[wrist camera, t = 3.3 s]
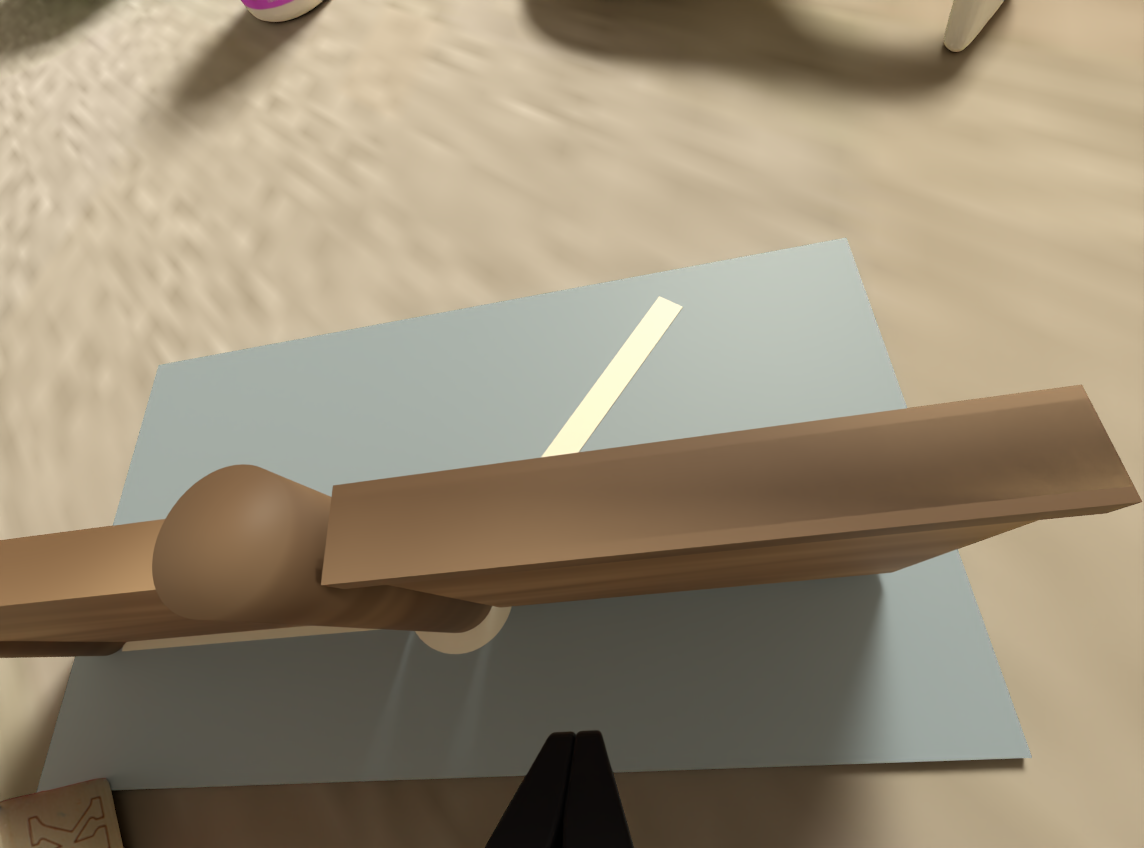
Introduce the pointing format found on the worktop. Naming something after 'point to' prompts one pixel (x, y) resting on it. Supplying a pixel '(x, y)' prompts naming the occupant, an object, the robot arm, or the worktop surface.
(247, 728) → the card
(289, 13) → the supplement bottle
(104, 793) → the stack of blocks
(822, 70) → the worktop surface
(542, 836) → the robot arm
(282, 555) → the fence post and fixed panel
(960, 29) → the spoon rest
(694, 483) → the wooden board
